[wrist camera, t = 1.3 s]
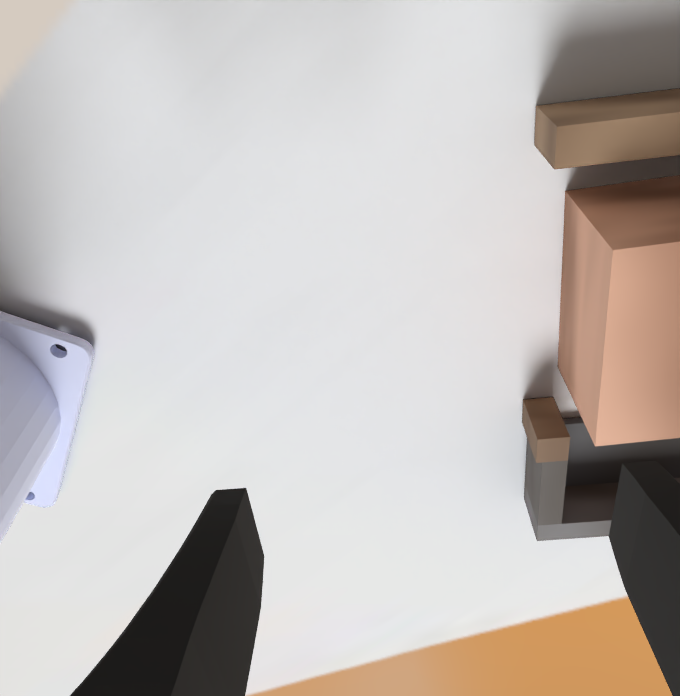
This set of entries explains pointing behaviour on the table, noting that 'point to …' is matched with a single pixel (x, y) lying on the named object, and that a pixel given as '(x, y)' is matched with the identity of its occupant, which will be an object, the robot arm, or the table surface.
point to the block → (622, 309)
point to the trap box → (542, 413)
